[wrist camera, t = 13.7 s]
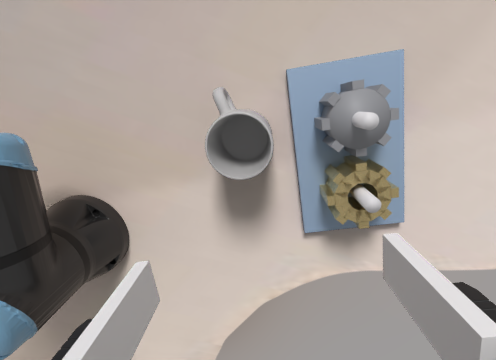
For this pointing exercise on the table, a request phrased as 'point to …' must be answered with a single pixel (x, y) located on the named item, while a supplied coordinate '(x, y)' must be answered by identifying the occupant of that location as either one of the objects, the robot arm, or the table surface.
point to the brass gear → (346, 179)
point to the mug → (238, 140)
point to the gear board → (325, 155)
